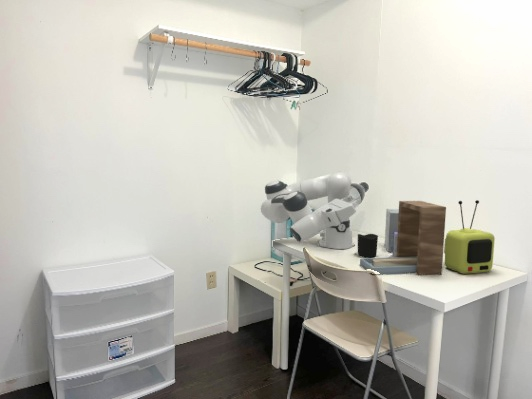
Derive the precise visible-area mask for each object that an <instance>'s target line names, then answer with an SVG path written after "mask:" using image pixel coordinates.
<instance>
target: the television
mask: <svg viewBox="0 0 532 399" xmlns="http://www.w3.org/2000/svg"><path fill="white" fill-rule="evenodd" d="M462 204H463V201H462V200H458V205H459V206H460V213H461V214H460V216H461V223H462V228H460V229H454V230H449V231H448V232H447V233H446V236H445V237H444V248H443V254H444V266H445V268H447V269H450V270H452V271H453V272H456V273H460V274H462V275H467V274H478V273H487V272H489V271H491V270H492V269H493V262H494V253H495V252H494V250H495V236H494V234H493V233H491V232H487V231H484V230H481V229H475V228H472V227H473V224H474V218H475V215H476V211H477V206H478V204H480V200H478V199H476V200H475V207H474V211H473V215H472V219H471V222H470V226H469V227H466V228H465V225H464V224H465V223H464V216H463V206H462Z"/></svg>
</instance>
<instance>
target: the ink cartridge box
mask: <svg viewBox="0 0 532 399" xmlns="http://www.w3.org/2000/svg"><path fill="white" fill-rule="evenodd" d="M397 234H398V232H393V252H391V254H392V255H391V258H392V257H396V254H397Z"/></svg>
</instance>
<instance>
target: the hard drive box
mask: <svg viewBox="0 0 532 399" xmlns="http://www.w3.org/2000/svg"><path fill="white" fill-rule="evenodd" d="M385 211H386V212H385V229H384V230H385V231H384V233H385V234H384V246H385V249H386V250H387V252H388V253H393V232H398V214H399V208H386V209H385Z"/></svg>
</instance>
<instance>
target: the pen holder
mask: <svg viewBox="0 0 532 399" xmlns="http://www.w3.org/2000/svg"><path fill="white" fill-rule="evenodd" d="M378 240H379V236H378V235H377V234H376V233H375V234H374V233H367V234H361V233H358V234H357V255H358V256H359V257H361V258H377V257H376V256H377V254H378V253H377V252H378Z"/></svg>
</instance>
